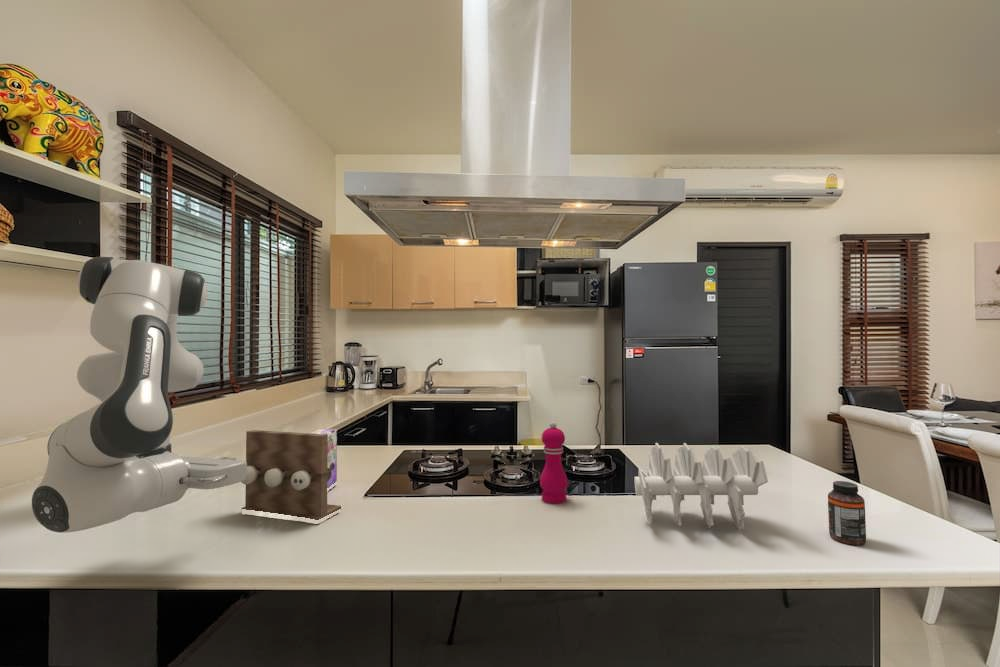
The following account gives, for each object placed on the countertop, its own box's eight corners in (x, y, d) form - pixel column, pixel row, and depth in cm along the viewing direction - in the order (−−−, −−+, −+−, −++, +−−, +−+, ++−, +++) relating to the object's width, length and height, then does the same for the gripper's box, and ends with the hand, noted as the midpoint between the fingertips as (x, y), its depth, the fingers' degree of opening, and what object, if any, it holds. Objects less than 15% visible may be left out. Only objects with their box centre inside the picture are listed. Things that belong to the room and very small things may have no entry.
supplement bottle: (829, 531, 95) (828, 477, 95) (866, 539, 91) (864, 482, 91) (828, 541, 90) (826, 484, 90) (866, 549, 86) (864, 489, 87)
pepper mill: (567, 495, 119) (566, 419, 120) (568, 504, 112) (567, 424, 113) (540, 494, 120) (539, 419, 121) (539, 503, 113) (538, 424, 113)
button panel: (241, 514, 107) (242, 432, 108) (268, 503, 114) (269, 426, 115) (318, 524, 100) (318, 437, 101) (341, 512, 108) (341, 430, 109)
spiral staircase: (636, 531, 105) (751, 532, 101) (644, 524, 90) (780, 525, 86) (628, 453, 114) (733, 451, 109) (633, 434, 98) (756, 431, 94)
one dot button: (238, 483, 104) (238, 466, 105) (258, 477, 110) (258, 460, 110) (251, 485, 103) (252, 467, 103) (271, 478, 109) (271, 462, 109)
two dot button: (290, 489, 100) (290, 471, 100) (308, 482, 105) (308, 465, 105) (305, 491, 99) (305, 472, 99) (322, 483, 104) (322, 466, 104)
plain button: (264, 486, 102) (264, 468, 102) (282, 479, 108) (282, 463, 108) (278, 488, 101) (278, 470, 101) (296, 481, 106) (296, 464, 106)
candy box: (317, 501, 116) (317, 437, 116) (294, 501, 116) (295, 437, 116) (337, 485, 129) (337, 428, 130) (317, 485, 129) (317, 428, 130)
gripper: (206, 464, 75) (271, 448, 88) (121, 458, 81) (194, 443, 95) (205, 502, 75) (271, 480, 88) (120, 493, 81) (193, 473, 94)
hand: (230, 461), depth 91 cm, fingers closed
